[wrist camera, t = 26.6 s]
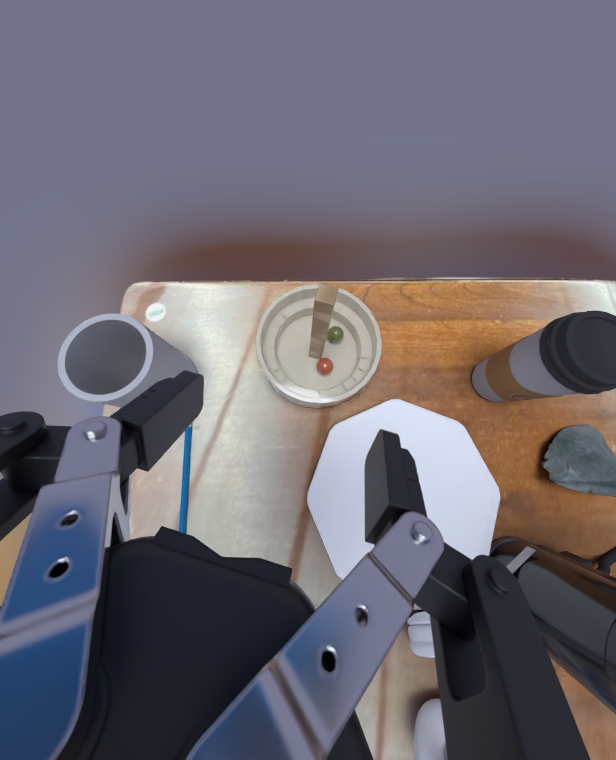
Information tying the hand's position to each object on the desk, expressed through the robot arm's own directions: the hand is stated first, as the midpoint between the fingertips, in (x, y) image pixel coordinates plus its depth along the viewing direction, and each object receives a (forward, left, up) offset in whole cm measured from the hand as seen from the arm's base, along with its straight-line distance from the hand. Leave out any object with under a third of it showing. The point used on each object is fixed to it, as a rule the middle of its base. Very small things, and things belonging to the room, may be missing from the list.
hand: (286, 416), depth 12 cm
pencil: (+15, +4, -26) cm, 30 cm away
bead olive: (-8, -13, -24) cm, 28 cm away
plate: (-13, +10, -26) cm, 31 cm away
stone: (-38, +9, -26) cm, 47 cm away
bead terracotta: (-5, -8, -24) cm, 26 cm away
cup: (+17, -10, -26) cm, 33 cm away
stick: (-5, -11, -25) cm, 28 cm away
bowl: (-5, -11, -26) cm, 28 cm away
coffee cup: (-30, -3, -26) cm, 40 cm away
